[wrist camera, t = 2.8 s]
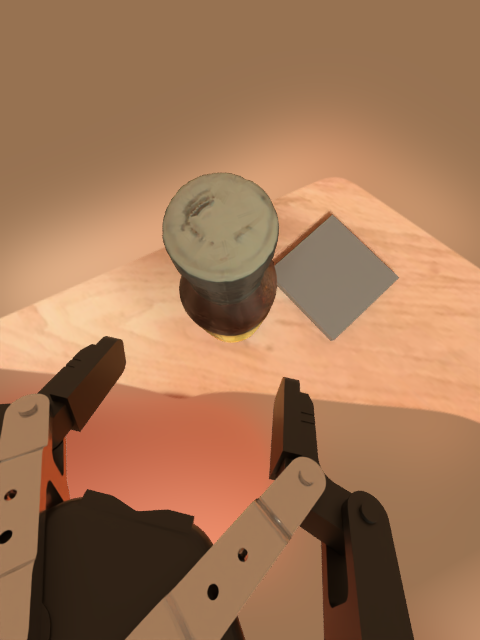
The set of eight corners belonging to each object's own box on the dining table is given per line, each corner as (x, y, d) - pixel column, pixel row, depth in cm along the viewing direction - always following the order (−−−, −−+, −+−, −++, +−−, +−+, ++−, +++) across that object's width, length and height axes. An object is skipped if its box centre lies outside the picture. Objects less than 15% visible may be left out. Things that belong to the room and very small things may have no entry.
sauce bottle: (198, 295, 29) (104, 149, 9) (252, 281, 29) (275, 109, 9) (212, 353, 28) (141, 327, 8) (268, 338, 28) (333, 277, 8)
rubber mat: (393, 280, 29) (399, 277, 28) (330, 340, 28) (334, 340, 27) (329, 219, 30) (332, 214, 29) (266, 274, 29) (267, 271, 28)
